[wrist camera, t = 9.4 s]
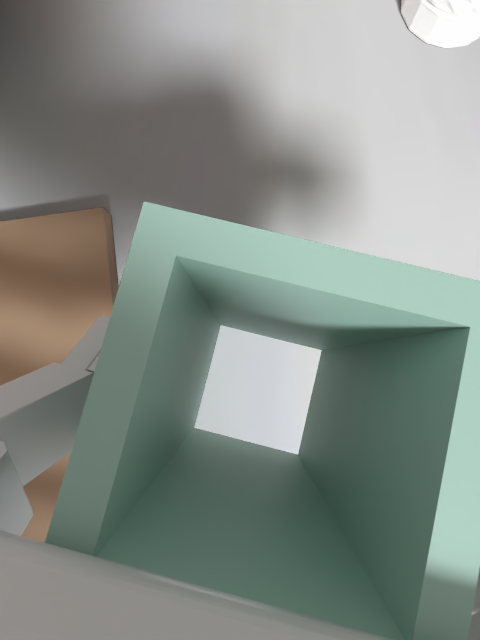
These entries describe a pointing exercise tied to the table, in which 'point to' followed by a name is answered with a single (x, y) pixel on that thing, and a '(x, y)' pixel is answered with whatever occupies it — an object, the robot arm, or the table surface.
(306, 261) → the sleeve
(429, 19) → the white cup
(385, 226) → the table surface
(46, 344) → the board
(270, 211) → the table surface
